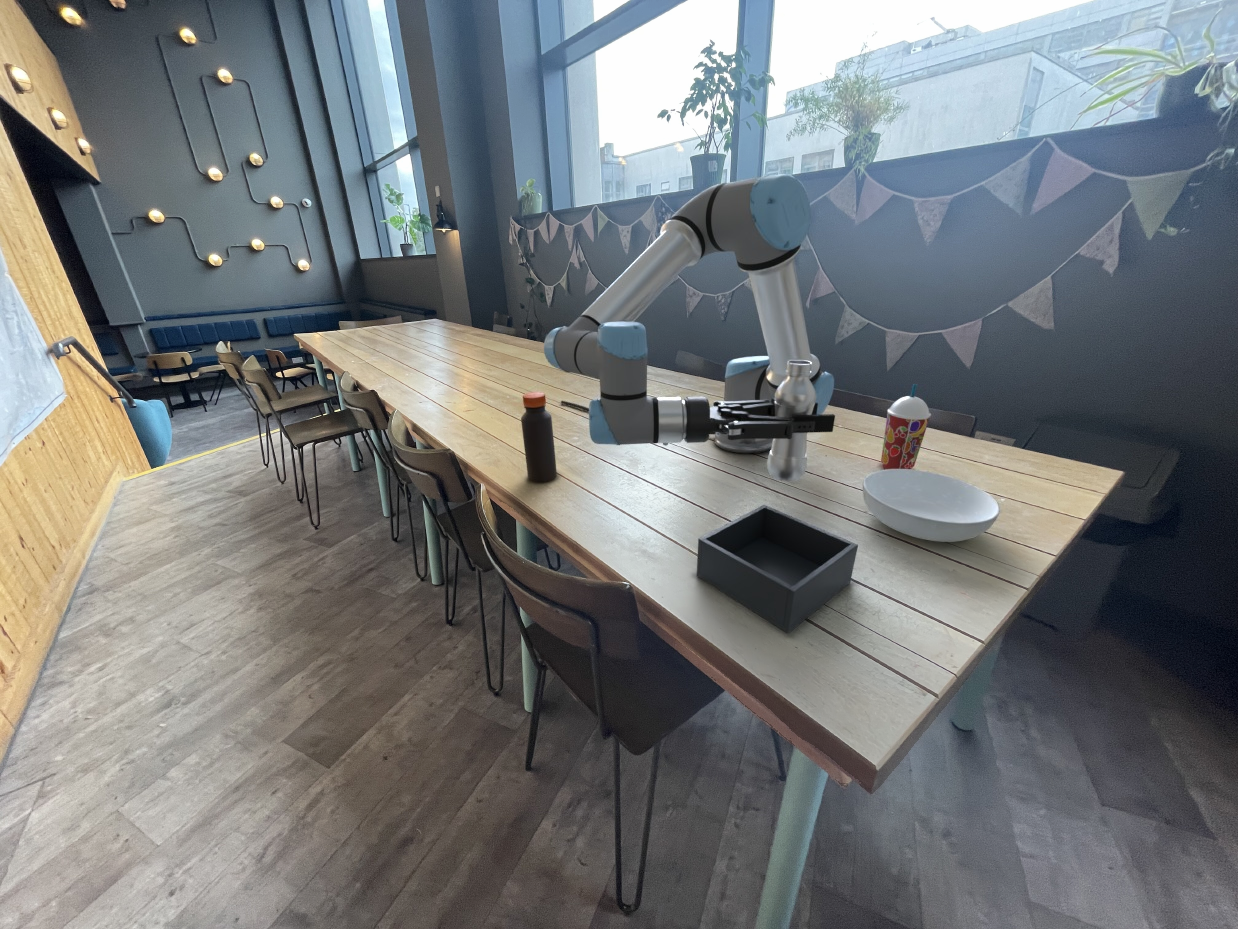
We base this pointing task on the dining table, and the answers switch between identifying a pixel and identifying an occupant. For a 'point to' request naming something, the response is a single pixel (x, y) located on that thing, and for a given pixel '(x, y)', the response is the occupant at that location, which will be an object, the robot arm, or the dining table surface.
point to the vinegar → (538, 438)
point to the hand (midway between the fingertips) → (823, 416)
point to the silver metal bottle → (791, 400)
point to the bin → (776, 565)
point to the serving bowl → (929, 504)
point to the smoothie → (904, 432)
